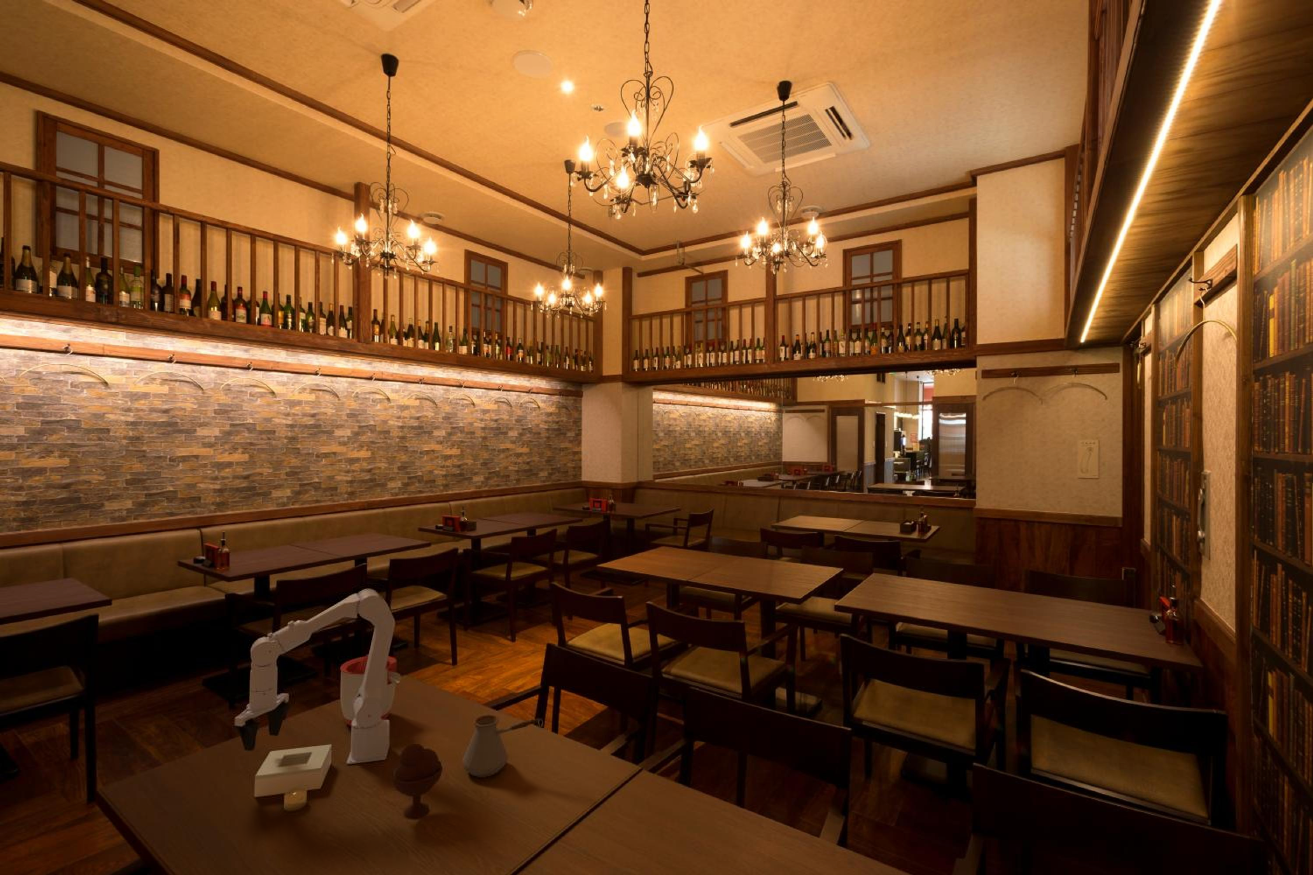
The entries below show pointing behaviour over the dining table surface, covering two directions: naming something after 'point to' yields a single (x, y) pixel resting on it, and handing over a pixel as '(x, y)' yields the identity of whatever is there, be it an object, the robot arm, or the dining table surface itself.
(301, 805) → the gold rounded piece
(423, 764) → the ice cream bowl
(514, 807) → the dining table surface
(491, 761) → the coffee pot
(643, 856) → the dining table surface
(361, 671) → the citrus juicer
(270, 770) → the beige square holder
